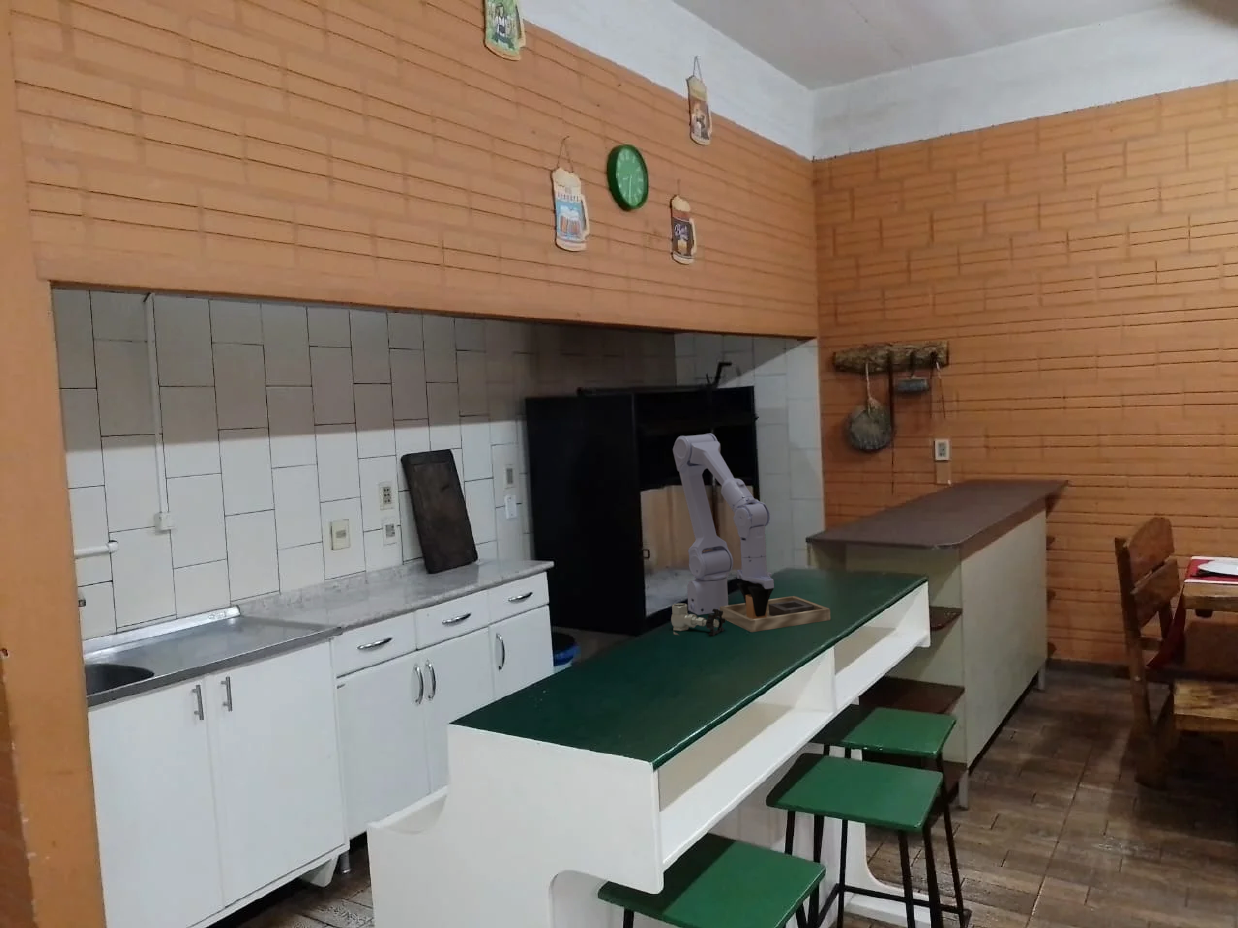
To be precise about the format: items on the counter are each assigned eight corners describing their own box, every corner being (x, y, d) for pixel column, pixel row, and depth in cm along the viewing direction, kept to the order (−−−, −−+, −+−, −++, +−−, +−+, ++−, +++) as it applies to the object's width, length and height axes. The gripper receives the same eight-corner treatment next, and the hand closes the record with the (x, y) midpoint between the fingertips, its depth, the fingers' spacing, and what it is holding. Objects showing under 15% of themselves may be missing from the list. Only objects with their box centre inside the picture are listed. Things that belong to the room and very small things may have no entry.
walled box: (751, 636, 205) (750, 620, 204) (720, 621, 220) (719, 606, 219) (830, 623, 211) (829, 608, 211) (795, 609, 226) (794, 595, 226)
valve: (665, 636, 210) (711, 642, 203) (663, 607, 209) (709, 612, 202) (681, 629, 215) (726, 634, 208) (679, 601, 215) (724, 605, 207)
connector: (753, 623, 212) (752, 592, 211) (746, 620, 215) (745, 589, 214) (766, 621, 213) (765, 590, 212) (760, 618, 216) (758, 587, 215)
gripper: (784, 558, 207) (787, 618, 208) (754, 549, 221) (757, 605, 222) (756, 562, 205) (759, 622, 206) (727, 552, 219) (730, 609, 220)
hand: (756, 614), depth 214 cm, fingers closed on connector, 3 cm apart
